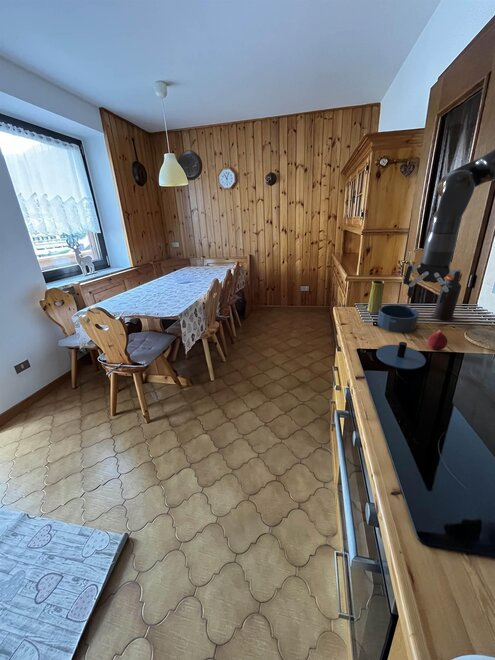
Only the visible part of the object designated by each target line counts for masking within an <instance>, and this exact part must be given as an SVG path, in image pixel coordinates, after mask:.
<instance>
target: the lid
mask: <svg viewBox="0 0 495 660" xmlns="http://www.w3.org/2000/svg"><path fill="white" fill-rule="evenodd" d="M375 353H376V357H377V358H378V361H380V362H382V363H383V364H384V365H387V366H389V367H392V368H395V369H399V370H406V371H407V370H408V371H410V370H411V371H413V370H418V369H422V368H423V367H424V366H425V365H426V363H427V359H426V357H425V356H424V355H423V354H422V353H421V352H420V351H418V350H416V349H415V348H413V347H409V346H408V343H407V342H406V341H399V342H398V344H386V345H383V346H380V347H379V348H378V349H376V352H375Z"/></svg>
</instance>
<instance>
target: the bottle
mask: <svg viewBox="0 0 495 660" xmlns="http://www.w3.org/2000/svg"><path fill="white" fill-rule="evenodd" d="M462 277H463V273H460V277H459V282H458V286H457V289H456V291H450V292H448V294H447V298H446V300H445V302H442V303H439V302H440V298H441V295H442V292H443V289H442V287H441V286H440V290H439V294H438V298H437V301H436V304H435V305H436V306H435V309H434V313H433V318H434V319H436V320H439V321H443V322H445V321H446V322H449V321H452V320H453V316H454V314H455V309H456V307H457V303H458V301H459V296H460V295H461V294H460V293H461V290H462V284H461V283H460V282H461V280H462ZM445 280H446V282H447V284H448V286H452V285H453V280H454V278H452V277H451V274H448V275H447V276H446V277H445Z"/></svg>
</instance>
